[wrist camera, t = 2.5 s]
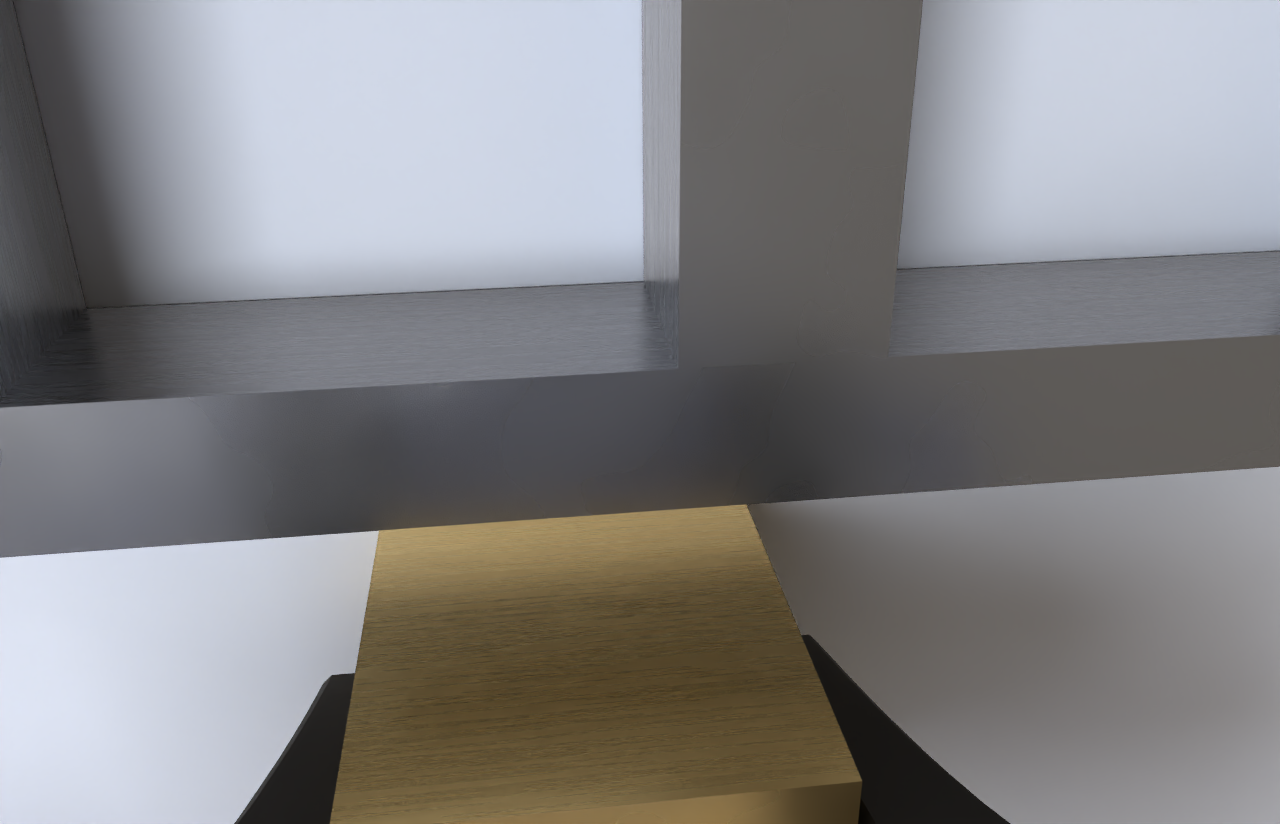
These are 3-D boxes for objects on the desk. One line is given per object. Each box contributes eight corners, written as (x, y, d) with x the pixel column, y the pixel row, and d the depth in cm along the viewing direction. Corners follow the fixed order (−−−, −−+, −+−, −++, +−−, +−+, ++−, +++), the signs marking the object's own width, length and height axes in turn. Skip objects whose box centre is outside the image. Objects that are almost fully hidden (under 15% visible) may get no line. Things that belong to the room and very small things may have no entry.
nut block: (730, 758, 16) (830, 1116, 11) (416, 789, 15) (386, 1175, 11) (739, 490, 14) (865, 787, 9) (381, 514, 13) (327, 842, 9)
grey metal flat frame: (1344, 361, 14) (1506, 449, 12) (22, 439, 12) (-82, 563, 10) (1608, -542, 10) (1927, -664, 8) (-273, -612, 8) (-553, -797, 6)
